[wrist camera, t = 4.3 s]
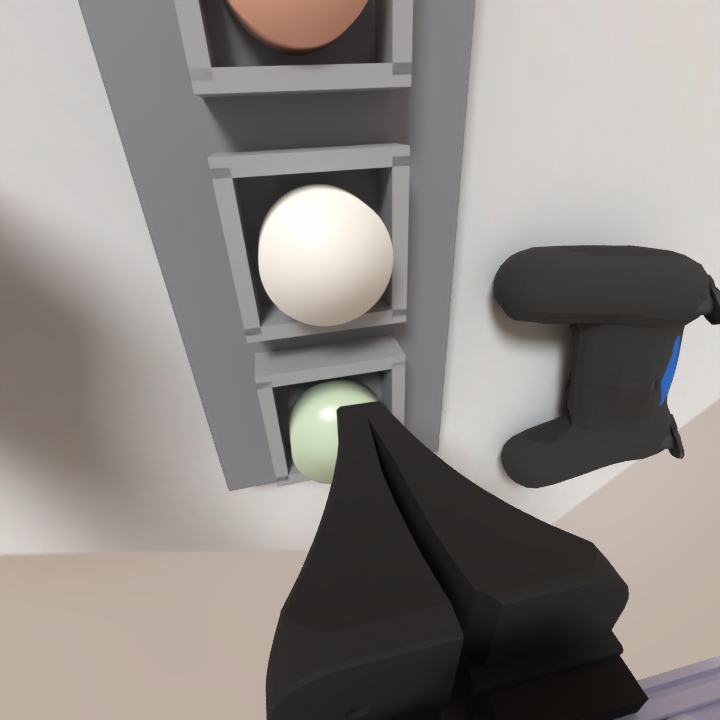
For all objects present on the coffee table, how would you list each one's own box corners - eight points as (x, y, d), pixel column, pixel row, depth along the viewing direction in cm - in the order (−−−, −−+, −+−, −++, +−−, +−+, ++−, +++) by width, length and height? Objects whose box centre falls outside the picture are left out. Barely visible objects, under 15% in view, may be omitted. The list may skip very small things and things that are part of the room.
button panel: (231, 458, 24) (226, 521, 20) (22, -273, 10) (-112, -499, 7) (423, 424, 26) (451, 476, 22) (458, -230, 12) (547, -386, 9)
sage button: (294, 460, 20) (298, 492, 18) (282, 387, 17) (284, 415, 16) (381, 444, 20) (392, 473, 19) (380, 371, 18) (393, 397, 16)
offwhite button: (268, 310, 16) (270, 334, 14) (247, 188, 13) (246, 198, 12) (379, 297, 16) (393, 317, 15) (377, 178, 14) (393, 187, 12)
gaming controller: (504, 435, 32) (656, 445, 28) (501, 496, 28) (679, 518, 24) (496, 228, 23) (718, 201, 19) (489, 270, 19) (773, 246, 15)
